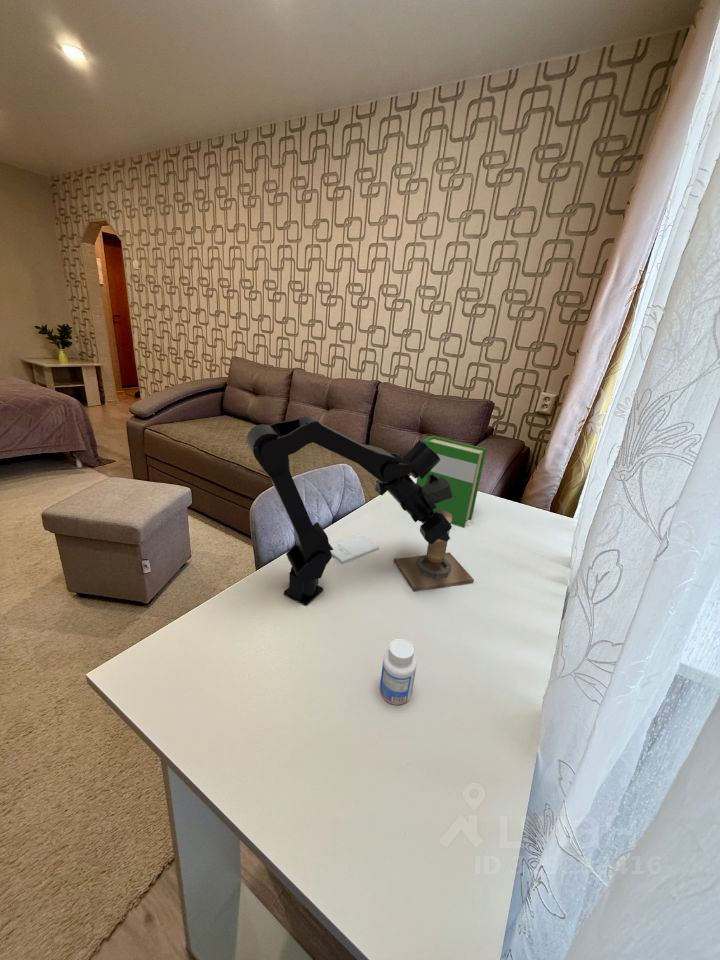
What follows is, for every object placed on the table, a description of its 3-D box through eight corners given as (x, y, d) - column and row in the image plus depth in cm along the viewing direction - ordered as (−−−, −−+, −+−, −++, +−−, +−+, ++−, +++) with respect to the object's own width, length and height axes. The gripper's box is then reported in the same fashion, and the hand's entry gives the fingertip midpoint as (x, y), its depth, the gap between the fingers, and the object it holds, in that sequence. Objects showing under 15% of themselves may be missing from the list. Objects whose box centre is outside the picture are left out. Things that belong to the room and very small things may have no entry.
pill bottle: (391, 672, 70) (398, 629, 66) (417, 690, 67) (425, 646, 63) (372, 692, 66) (378, 647, 62) (399, 712, 63) (407, 667, 59)
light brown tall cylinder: (440, 565, 94) (449, 520, 89) (423, 558, 96) (430, 515, 91) (446, 556, 98) (455, 513, 93) (429, 550, 99) (437, 508, 95)
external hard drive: (378, 551, 106) (341, 566, 99) (359, 538, 112) (323, 550, 104) (379, 546, 106) (342, 560, 98) (360, 533, 111) (323, 545, 104)
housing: (413, 591, 91) (414, 582, 90) (394, 562, 101) (395, 553, 100) (473, 583, 96) (475, 574, 95) (448, 555, 106) (450, 547, 105)
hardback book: (471, 519, 127) (486, 448, 118) (463, 528, 121) (478, 454, 112) (421, 502, 136) (432, 435, 126) (412, 510, 130) (422, 440, 120)
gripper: (450, 486, 79) (489, 533, 85) (421, 455, 96) (456, 496, 102) (407, 521, 80) (449, 565, 86) (386, 484, 97) (422, 523, 103)
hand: (444, 534), depth 94 cm, fingers closed on light brown tall cylinder, 4 cm apart
